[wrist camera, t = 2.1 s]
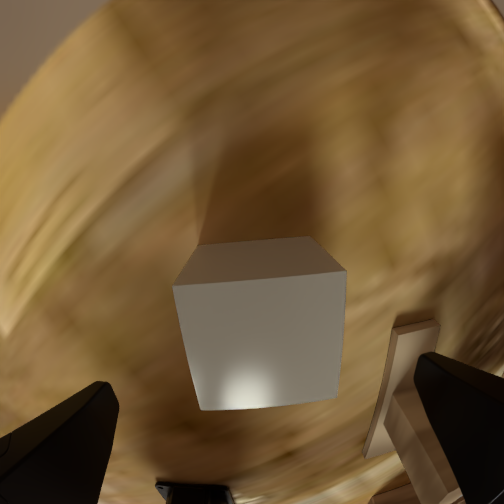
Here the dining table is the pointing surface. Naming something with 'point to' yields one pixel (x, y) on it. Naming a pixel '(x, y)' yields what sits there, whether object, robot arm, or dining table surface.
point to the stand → (411, 418)
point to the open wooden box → (402, 497)
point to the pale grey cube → (262, 322)
